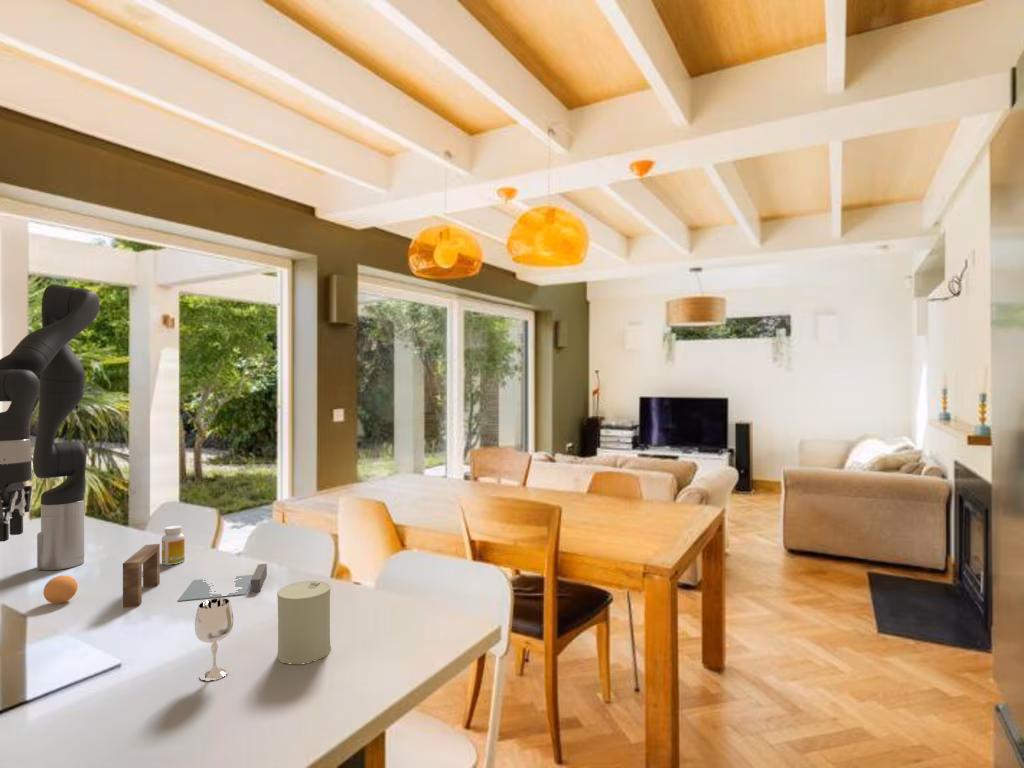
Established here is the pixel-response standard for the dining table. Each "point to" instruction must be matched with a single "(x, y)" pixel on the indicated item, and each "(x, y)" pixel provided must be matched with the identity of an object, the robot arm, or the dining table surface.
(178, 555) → the supplement bottle
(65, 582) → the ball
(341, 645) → the dining table surface
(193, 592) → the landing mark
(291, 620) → the can
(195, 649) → the dining table surface
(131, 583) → the bridge
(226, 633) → the wineglass
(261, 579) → the stopper
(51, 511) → the robot arm
